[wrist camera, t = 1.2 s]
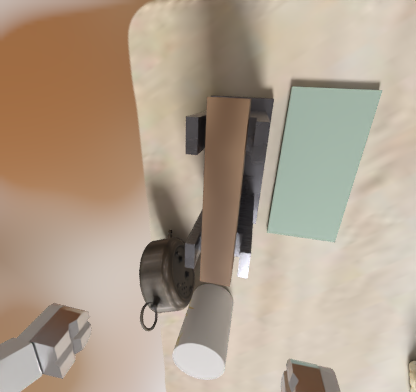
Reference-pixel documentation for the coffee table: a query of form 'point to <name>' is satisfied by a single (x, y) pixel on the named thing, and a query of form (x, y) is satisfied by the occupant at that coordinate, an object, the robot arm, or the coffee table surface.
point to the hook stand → (250, 183)
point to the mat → (320, 159)
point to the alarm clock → (165, 277)
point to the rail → (222, 185)
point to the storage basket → (412, 375)
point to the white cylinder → (205, 333)
